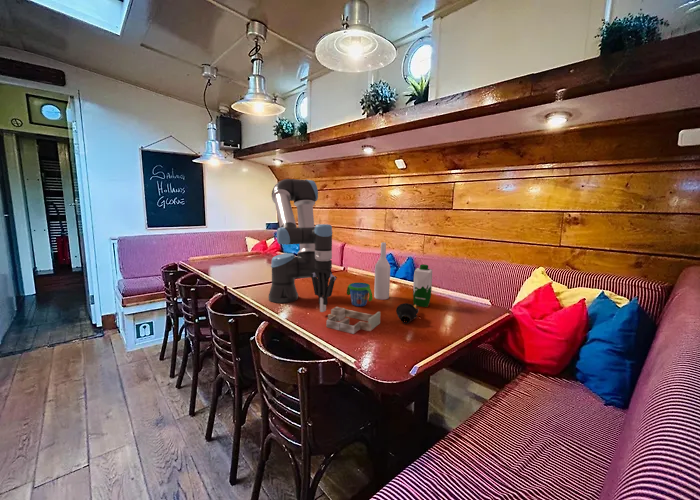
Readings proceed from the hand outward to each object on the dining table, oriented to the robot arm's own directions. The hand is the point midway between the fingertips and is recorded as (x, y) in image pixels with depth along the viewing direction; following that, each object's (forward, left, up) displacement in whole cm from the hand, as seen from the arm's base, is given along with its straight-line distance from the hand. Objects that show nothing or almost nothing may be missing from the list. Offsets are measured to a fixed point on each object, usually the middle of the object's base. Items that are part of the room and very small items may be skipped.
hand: (322, 311), depth 139 cm
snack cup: (+7, +22, -2) cm, 23 cm away
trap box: (+16, -3, -2) cm, 16 cm away
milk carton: (+34, +39, -2) cm, 52 cm away
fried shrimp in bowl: (+35, +17, -2) cm, 39 cm away
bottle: (+12, +39, -2) cm, 41 cm away
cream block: (+8, 0, -2) cm, 8 cm away
